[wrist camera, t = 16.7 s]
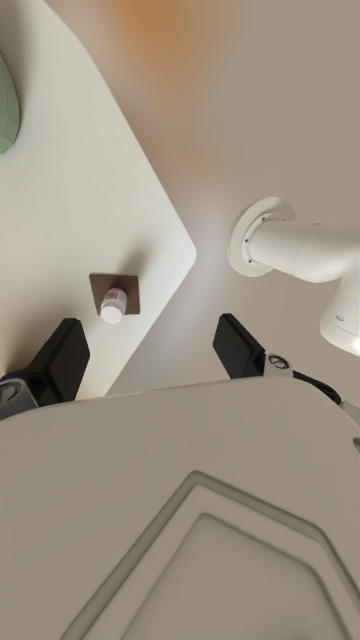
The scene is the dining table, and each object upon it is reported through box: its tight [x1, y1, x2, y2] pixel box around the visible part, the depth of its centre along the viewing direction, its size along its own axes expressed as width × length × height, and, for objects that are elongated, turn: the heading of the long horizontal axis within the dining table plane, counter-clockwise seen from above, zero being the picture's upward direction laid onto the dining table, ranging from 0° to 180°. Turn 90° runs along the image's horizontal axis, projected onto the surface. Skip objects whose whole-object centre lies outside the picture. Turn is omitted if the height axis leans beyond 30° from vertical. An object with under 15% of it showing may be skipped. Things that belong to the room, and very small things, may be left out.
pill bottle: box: [100, 288, 127, 323], centre depth 34 cm, size 5×5×8 cm
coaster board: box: [89, 275, 139, 315], centre depth 38 cm, size 10×10×1 cm
